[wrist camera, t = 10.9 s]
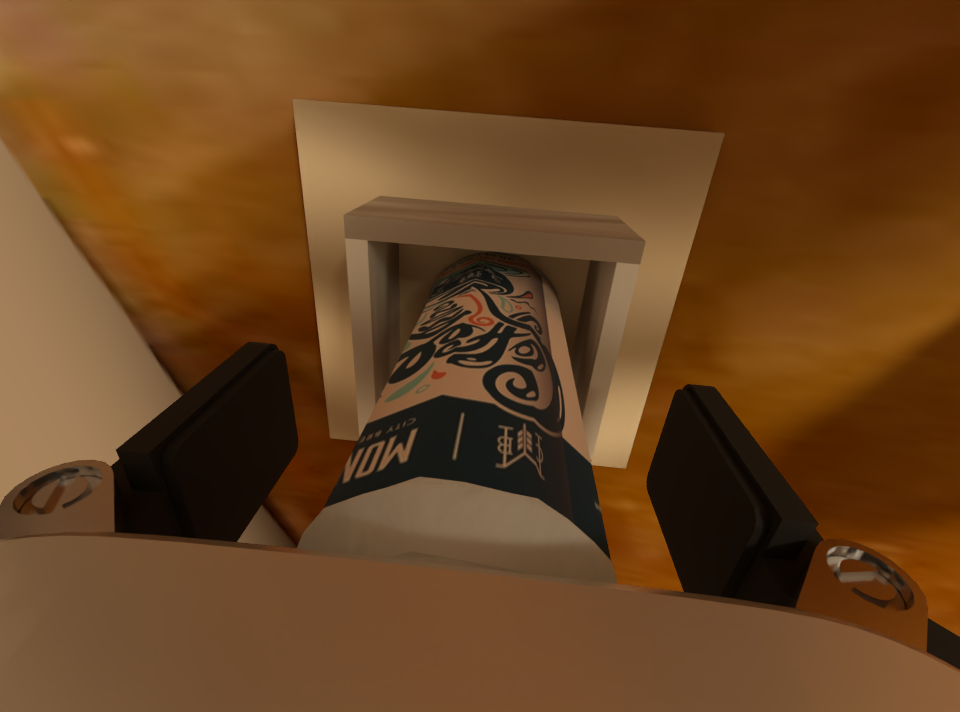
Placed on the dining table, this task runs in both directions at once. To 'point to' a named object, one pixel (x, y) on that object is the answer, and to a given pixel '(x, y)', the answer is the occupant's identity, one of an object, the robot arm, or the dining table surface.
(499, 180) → the holder
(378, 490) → the beer can
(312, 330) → the dining table surface
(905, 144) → the dining table surface
